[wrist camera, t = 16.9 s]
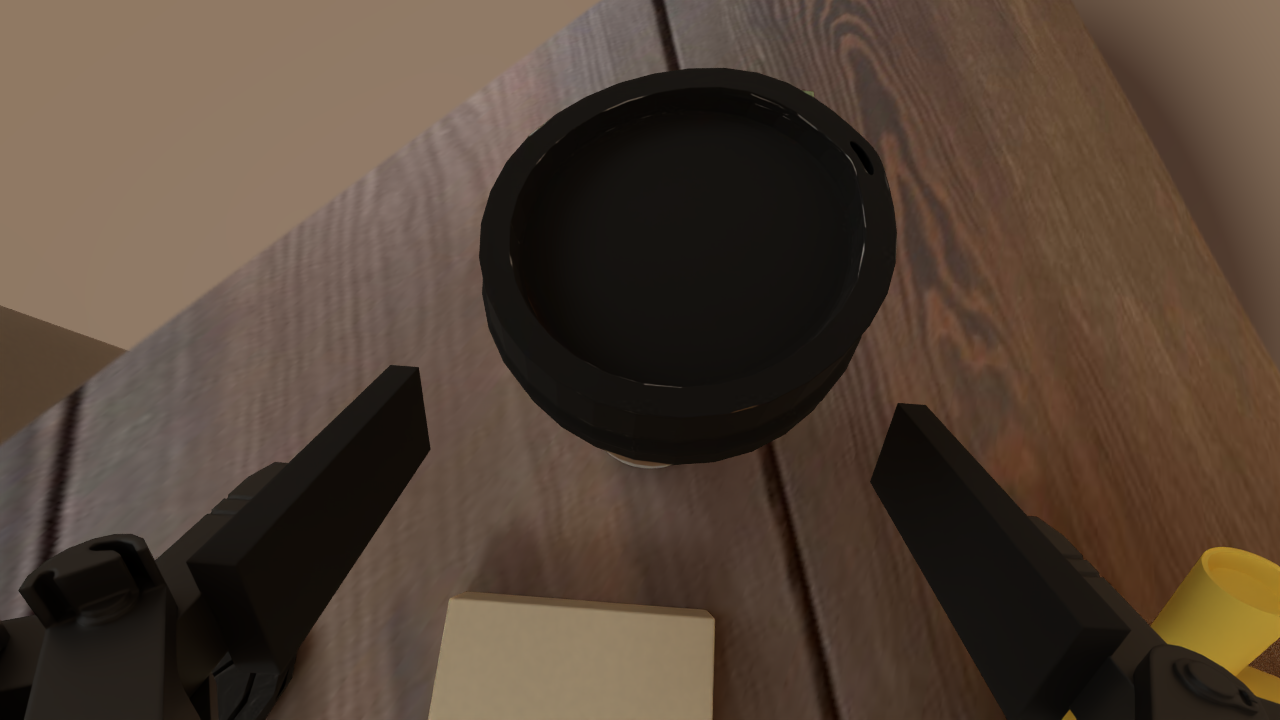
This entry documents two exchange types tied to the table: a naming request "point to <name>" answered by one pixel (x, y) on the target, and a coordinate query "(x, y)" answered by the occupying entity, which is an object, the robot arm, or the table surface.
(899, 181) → the table surface
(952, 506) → the robot arm
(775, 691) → the table surface
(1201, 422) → the table surface
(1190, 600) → the teapot
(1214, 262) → the table surface
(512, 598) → the beige flat block
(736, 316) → the coffee cup
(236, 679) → the hairbrush
